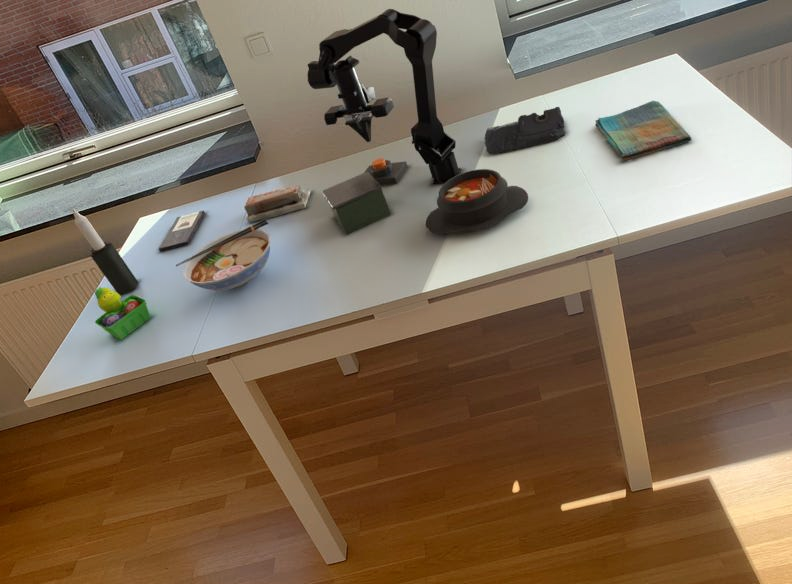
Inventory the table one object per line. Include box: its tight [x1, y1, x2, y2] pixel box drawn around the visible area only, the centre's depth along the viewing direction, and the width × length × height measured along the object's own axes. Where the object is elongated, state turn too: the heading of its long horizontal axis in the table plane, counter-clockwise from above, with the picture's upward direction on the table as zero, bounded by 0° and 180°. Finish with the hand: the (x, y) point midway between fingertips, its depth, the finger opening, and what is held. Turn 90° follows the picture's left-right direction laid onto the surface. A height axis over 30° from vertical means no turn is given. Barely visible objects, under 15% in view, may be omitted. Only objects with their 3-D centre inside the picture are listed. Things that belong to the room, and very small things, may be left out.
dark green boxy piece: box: [328, 188, 392, 235], centre depth 181 cm, size 13×12×7 cm
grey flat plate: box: [321, 171, 382, 210], centre depth 179 cm, size 13×12×1 cm
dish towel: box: [594, 100, 692, 162], centre depth 174 cm, size 17×23×2 cm
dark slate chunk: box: [484, 106, 566, 155], centre depth 191 cm, size 15×22×5 cm
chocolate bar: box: [158, 210, 206, 252], centre depth 208 cm, size 9×1×18 cm
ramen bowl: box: [176, 218, 271, 292], centre depth 174 cm, size 25×23×8 cm
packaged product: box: [243, 184, 312, 223], centre depth 200 cm, size 18×5×10 cm
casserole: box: [425, 168, 529, 235], centre depth 164 cm, size 25×19×8 cm
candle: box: [71, 207, 139, 296], centre depth 182 cm, size 5×5×25 cm
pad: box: [363, 159, 409, 186], centre depth 197 cm, size 12×9×4 cm
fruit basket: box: [94, 286, 152, 341], centre depth 170 cm, size 11×9×11 cm
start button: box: [371, 157, 386, 170], centre depth 196 cm, size 4×4×2 cm
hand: (369, 141), depth 191 cm, fingers closed
